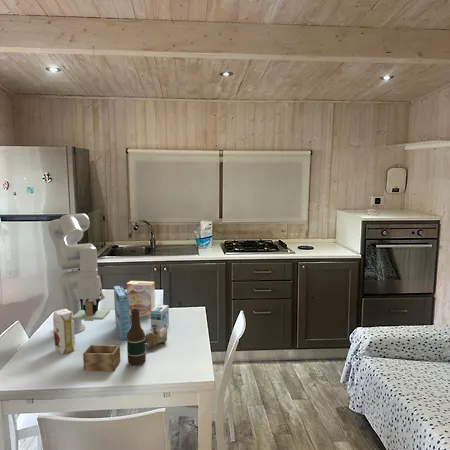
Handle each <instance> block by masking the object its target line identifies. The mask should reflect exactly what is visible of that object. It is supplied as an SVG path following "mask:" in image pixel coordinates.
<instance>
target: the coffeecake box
mask: <svg viewBox="0 0 450 450" xmlns="http://www.w3.org/2000/svg"><path fill="white" fill-rule="evenodd" d="M155 290H156V288H155V281H145V280H130V281H128V282H126V292H127V294H128V295H129V314H130V315H132V313H131V310H132V309H139V311H140V312H139V317H143V316H151V310H152V309H153V308H154V307H155V306H156V295H155V294H156V293H155Z"/></svg>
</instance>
